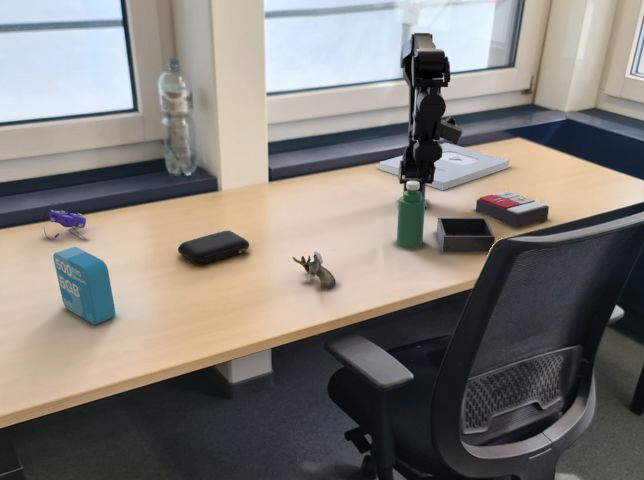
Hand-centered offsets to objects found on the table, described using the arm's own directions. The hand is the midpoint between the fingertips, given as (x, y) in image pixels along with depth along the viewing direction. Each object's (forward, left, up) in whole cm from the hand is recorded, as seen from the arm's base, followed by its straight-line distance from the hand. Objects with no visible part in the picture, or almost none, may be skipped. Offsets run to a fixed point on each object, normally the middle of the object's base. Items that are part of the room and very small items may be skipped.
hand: (422, 177), depth 180 cm
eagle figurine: (+32, -25, -12) cm, 42 cm away
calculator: (-6, +24, -12) cm, 28 cm away
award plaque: (-44, +12, -12) cm, 47 cm away
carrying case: (+18, -48, -12) cm, 53 cm away
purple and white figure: (+7, -84, -12) cm, 85 cm away
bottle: (+12, -4, -12) cm, 18 cm away
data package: (+46, -69, -12) cm, 84 cm away
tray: (+11, +9, -12) cm, 19 cm away
